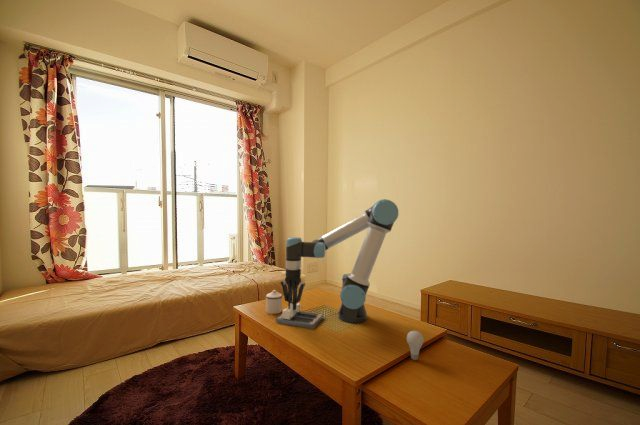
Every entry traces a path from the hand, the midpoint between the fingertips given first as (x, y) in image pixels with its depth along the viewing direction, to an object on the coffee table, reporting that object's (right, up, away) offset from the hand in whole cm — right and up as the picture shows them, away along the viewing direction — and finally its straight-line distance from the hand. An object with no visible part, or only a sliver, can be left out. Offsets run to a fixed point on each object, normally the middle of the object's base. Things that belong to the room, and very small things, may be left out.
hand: (292, 315), depth 139 cm
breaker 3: (+1, -2, +10) cm, 10 cm away
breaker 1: (-3, -1, +1) cm, 3 cm away
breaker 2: (-1, -2, +6) cm, 6 cm away
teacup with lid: (-13, -4, +17) cm, 22 cm away
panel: (+4, -4, +4) cm, 7 cm away
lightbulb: (+50, -5, -33) cm, 60 cm away
